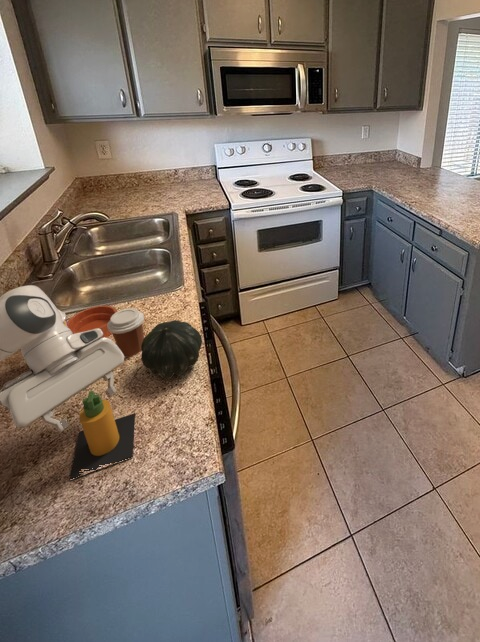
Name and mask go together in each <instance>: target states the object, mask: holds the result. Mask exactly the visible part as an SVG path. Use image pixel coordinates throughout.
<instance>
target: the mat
mask: <svg viewBox="0 0 480 642" xmlns="http://www.w3.org/2000/svg"><path fill="white" fill-rule="evenodd" d="M114 419H115V423H116V426H117V430H118V433H119V442H118V444H117V445H116V446H115V448H114V449H112V450H111V451H110V452H108V453H106V454H104V455H101V456H95V455H93V454H92V453H91V452H90V449H89V446H88V443H87V440H86V437H85V434H84V431H83V429H82V430H79V431H78V436H77V440H76V445H75V449H74V450H75V451H74V455H73V459H72V463H71V469H70V474H69V479H68V480H69V481H70V479H73V478H76V477H78V476H80V475H81V474H79V473H83V472H79V471H81V469H89V470H84V471H90V470H96V469H97V468H98V467H101V466H99V465H105V464H110V463H115V462H119V461H122V460H125V459H128V458H131V457H133V458H134V444H135V442H134V441H135V426H136V425H135V423H136V413H134V412H133V413H131V414H128V415H125V416H122V417H118V418H114ZM131 459H132V458H131ZM128 460H129V459H128ZM125 461H126V460H125ZM92 468H93V469H92Z"/></svg>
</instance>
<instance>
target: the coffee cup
mask: <svg viewBox="0 0 480 642" xmlns="http://www.w3.org/2000/svg"><path fill="white" fill-rule="evenodd" d="M144 321H145V315H144V313H143V312H142V311H141V310H138V309H137V308H134V307H127V308H123V309H120V310H117V312H116V313H115V314H113V315H112V317H111V318H110V321H109V322H108V324H107V329H108V331H109V332H111V333H112V334H111V335H112V337H113V340H114V343H115V344H116V345H117V346H118V348H119V349H120V350H121V351H122V353H123V355H124V357H125V358H129V357H133V356H136V355H138V354H140V353H142V350H141V345H142V342H143V340H144V338H145V334H144V327H143V326H144V325H143V322H144Z"/></svg>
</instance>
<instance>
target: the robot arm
mask: <svg viewBox="0 0 480 642" xmlns="http://www.w3.org/2000/svg"><path fill="white" fill-rule="evenodd" d="M102 336H103V332H102V330H101V329H99V328H97V329H93V330H89V331H85V332H80V333H76V334H73V333H72V331H71V330H70V329H69V328H68V327H67V326H65V324H64V323H63V321H62V317H61V314H60V312H59V311H58V308H57V306H56V305H55V303H54V302H53V301H52V300H51V298H50V297H49V296H48V295H47V294H46V293H45V291H44V290H42V289H41V288H40V287H39V286H37V285H33V284H30V285H29V284H27V285H22V286H17V287H15V288H12V289H10V290H8V291H6V292H4V293H3V294H2V295H1V296H0V363H1V362H3V361H4V360H6V359H7V358H10V357H11V356H12V355H14V354H16V353H17V352H18V351H19V350H20V351H21V356H22V359H23V360H24V361H25V363H26V365H27V366H28V368H29V370H27V371H25V372H23V373H21V374H19V375H18V376H17V377H15V378H14V379H10V380H9V381H7V382H5V383H4V384H3V386H2V387H1V388H0V405H1V406H2V407H3V408H7V409H8V410H9V413H10V416H11V419H12V421H13V422H14V424H15V427H16V428H18V429H26V428H27V427H29V426H31V425H33V424H34V423H35V422H36V421H38V420H39V419H42V421H43V423H46V424H48V425H51V426H54V427H56V429H57V431H58V432H59V433H60V434H61V433H62V432H63V431H65V430H66V429H68V428H69V427H70V424H69V423H68V422H67V418H63V419H61V420H58V419H56V418H53V417H54V413H53V410H55V409H57V408H59V407H60V406H62V405H63V404H64V403H67V402H68V401H69V400H70V399H72V398H73V397H75V396H76V395H78V394H79V393H81V392H82V391H84V390H85V389H87V388H88V387H90V386H92V385H93V384H94V383H97V382H98V381H100V380H101V379H103V380H104V382H107V389H105V390H104V394H105V395H106V397H107V398H108V399H110V398H111V397H113V396H115V395H116V394H117V393H118V392H117V389H116V388H115V386H114V383H115V382H114V380H115V374H114V373H113V371H115V370H116V369H118V368H119V367H121V366H122V365H123V364H124V363H125V358H126V357H125V356H124V355H123V353H122V351H121V350H120V349H119V348H118V346H117V345H116V342H115V341H113V339H111V338H109V337H104V338H102Z"/></svg>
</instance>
